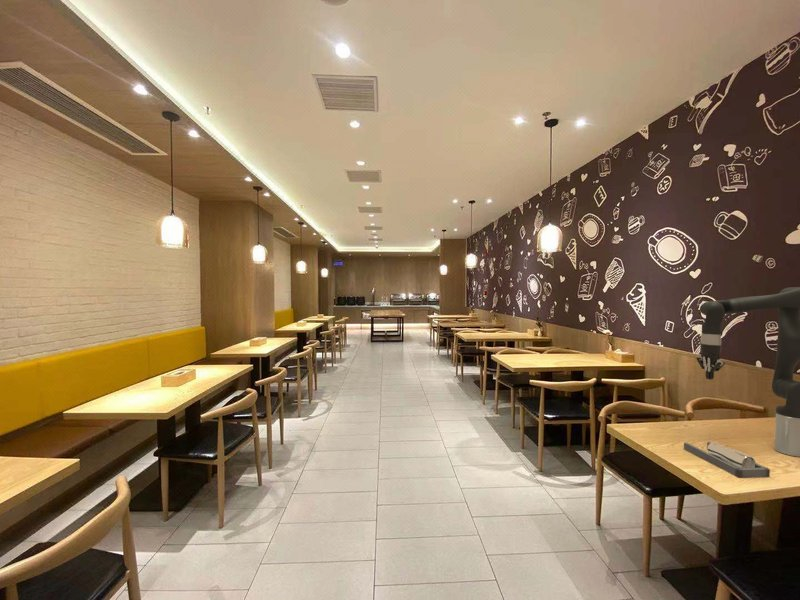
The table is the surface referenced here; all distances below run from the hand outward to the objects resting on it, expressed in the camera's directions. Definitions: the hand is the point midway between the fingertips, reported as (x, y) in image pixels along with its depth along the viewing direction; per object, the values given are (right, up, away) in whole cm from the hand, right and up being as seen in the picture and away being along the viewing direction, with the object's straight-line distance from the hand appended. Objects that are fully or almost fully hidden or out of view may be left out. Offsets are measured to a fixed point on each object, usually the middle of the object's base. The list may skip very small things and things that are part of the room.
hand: (709, 379), depth 174 cm
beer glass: (-9, -28, -12) cm, 32 cm away
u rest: (-10, -32, -18) cm, 37 cm away
